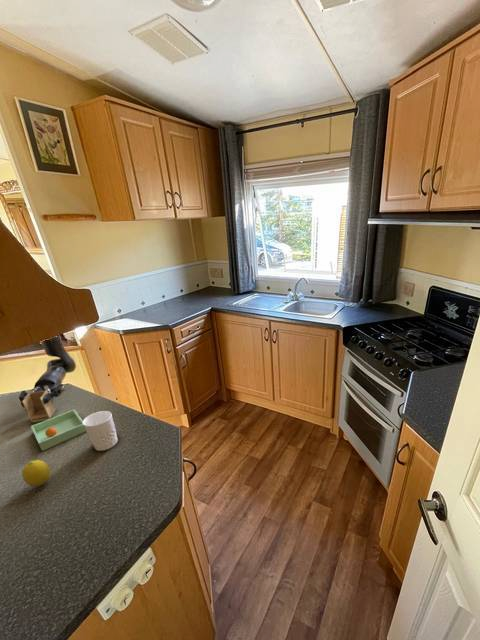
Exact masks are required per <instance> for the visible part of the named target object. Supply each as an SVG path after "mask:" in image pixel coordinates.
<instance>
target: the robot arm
mask: <svg viewBox="0 0 480 640" xmlns="http://www.w3.org/2000/svg"><path fill="white" fill-rule="evenodd" d="M40 342H41V341H40ZM41 345H42V347H43V349H44V352H45V355H47V356H48V357H51V358H52V357H54V358H55V359H51V360H49V361H48V362H47V363H46V371H44V373H43V374H42V375H41V376H40V377H39V378H38V379H37V381H35V383H34V386H33V388H32V389H31V390H29V391H27V390H22V391H21V392H20V394H19V396H18V400H19V402H20V406H21V408H22V409H25V407H24V405H23V403H22V401H23V400H24V399H25V397H26V396H27V395H28V394H29V393H34V392H40V391H46V390H47V394H46V395H45V396H44V398H43V402H44V404H47V403H48V402H49V401H50V400H51V401H52V399H54V397H55V398H59V397H60V396H61V395H62V393H64V391H65V386H64V384H63V382H64V380H65V378H66V376H67V374H69V373H73V372H75V370H76V368H77V365H76V364H77V363H76V362H75V360H74V358H72V356H71V355H70V354H69V352H68V351H67V349H66V348H65V345H64V343H63V341H62V338H61V336H60V335H59V336H57V337H55V338H52V339H49V340H45V341H43V342H41Z"/></svg>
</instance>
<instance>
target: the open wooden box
mask: <svg viewBox="0 0 480 640" xmlns="http://www.w3.org/2000/svg"><path fill="white" fill-rule="evenodd" d="M46 394H47V390H46V391H40V392H34V393H29V394H28V395H27V396H26V397H25V399H24V400H23V401H22V403H23V405H24V407H25V408H24V410H25V411H26V413H27V415H28V417H29V419H30V421H31V423H36V422H43V421H46V420H48V419H51V418H53V415H54V414H55V412H56V408H55V405H54V403H53V401H52V399H51V400H50V401H49V402H48V403H47V404H44V402H43V398H44V396H45V395H46Z"/></svg>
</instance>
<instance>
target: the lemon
mask: <svg viewBox="0 0 480 640" xmlns="http://www.w3.org/2000/svg"><path fill="white" fill-rule="evenodd" d="M50 469H51V468H50V467H49V465H48V464H47V463H46V462H45V461H43V460H38V459H36V460H35V459H34V460H30V461H29V462H28V463H26V465H25V466H24V467H23V469H22V472H21V473H22V479H23V481H24V482H25V483H26V484H27V485H28V486H31V487H39V486H43V485H44V484H45V483H46V482H47V481H48V480H49V478H50V476H51V470H50Z"/></svg>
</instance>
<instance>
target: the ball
mask: <svg viewBox="0 0 480 640" xmlns="http://www.w3.org/2000/svg"><path fill="white" fill-rule="evenodd" d="M56 433H57V431H56V429H55V428H49V429H47V430H46V432H45V434H46V436H48V437H53V436H55V435H56Z"/></svg>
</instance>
